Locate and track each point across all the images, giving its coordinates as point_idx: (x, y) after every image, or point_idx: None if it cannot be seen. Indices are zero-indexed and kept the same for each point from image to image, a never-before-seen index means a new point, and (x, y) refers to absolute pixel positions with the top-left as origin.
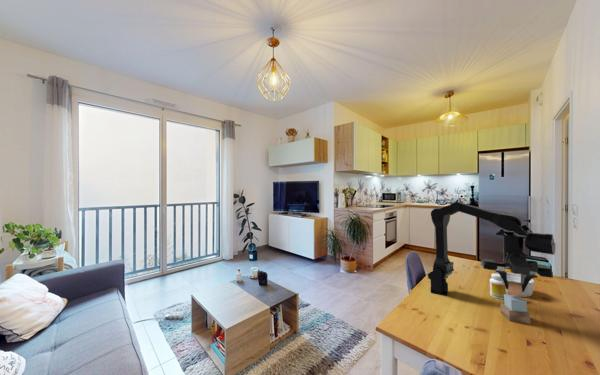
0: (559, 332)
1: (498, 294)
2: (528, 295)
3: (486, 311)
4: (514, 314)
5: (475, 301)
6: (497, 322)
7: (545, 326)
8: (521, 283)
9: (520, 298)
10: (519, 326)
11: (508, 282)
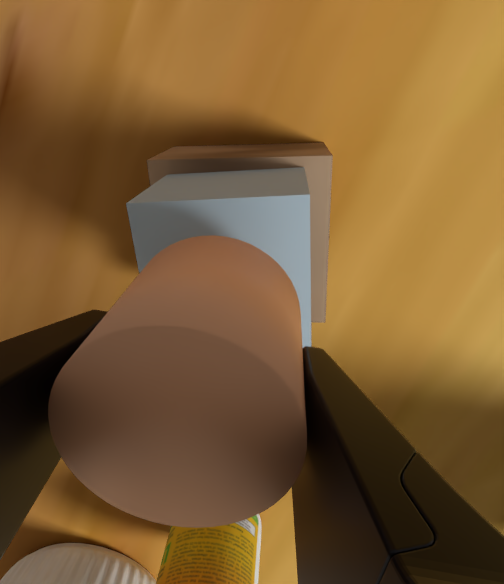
0: (12, 75)
1: None
2: (31, 554)
3: (430, 268)
4: (283, 153)
5: (423, 415)
6: (450, 72)
7: (77, 149)
8: (42, 449)
9: None
10: (283, 63)
11: (295, 436)
